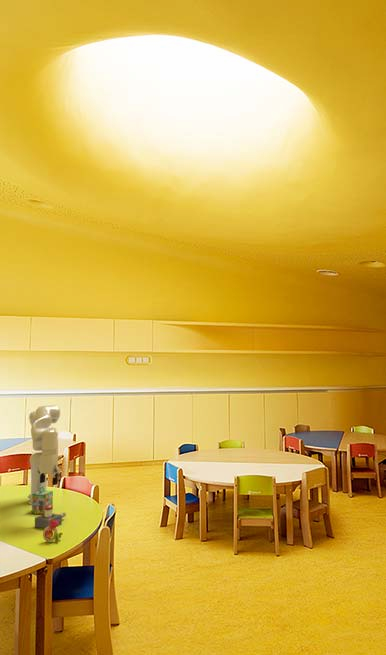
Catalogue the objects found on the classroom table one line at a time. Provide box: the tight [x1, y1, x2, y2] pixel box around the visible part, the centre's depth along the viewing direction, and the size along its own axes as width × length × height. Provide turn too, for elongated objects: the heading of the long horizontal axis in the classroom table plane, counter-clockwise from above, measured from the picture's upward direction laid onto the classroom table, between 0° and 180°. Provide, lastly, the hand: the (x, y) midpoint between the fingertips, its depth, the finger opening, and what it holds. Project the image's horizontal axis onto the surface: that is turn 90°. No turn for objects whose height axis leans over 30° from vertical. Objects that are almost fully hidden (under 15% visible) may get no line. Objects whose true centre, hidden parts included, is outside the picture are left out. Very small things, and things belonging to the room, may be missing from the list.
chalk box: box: [31, 486, 54, 515], centre depth 273 cm, size 9×9×15 cm
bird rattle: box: [42, 520, 63, 544], centre depth 225 cm, size 6×11×9 cm
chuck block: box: [34, 512, 67, 530], centre depth 251 cm, size 10×17×5 cm, turn 151°
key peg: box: [44, 504, 54, 518], centre depth 249 cm, size 5×5×11 cm
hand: (48, 483), depth 250 cm, fingers open, 9 cm apart
